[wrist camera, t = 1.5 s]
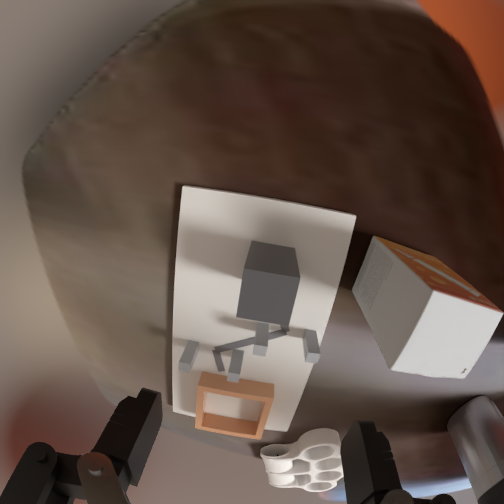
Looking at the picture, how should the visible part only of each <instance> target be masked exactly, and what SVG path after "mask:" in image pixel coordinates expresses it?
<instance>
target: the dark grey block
mask: <svg viewBox="0 0 504 504" xmlns="http://www.w3.org/2000/svg"><path fill="white" fill-rule="evenodd" d="M299 282H300V273H299V267H298V262H297V257H296V251H295V248H292V247H286V246H281V245H275V244H269V243H263V242H258V241H251V245H250V248H249V252H248V255H247V258H246V262H245V265H244V269H243V276H242V282H241V288H240V295H239V301H238V308H237V314H236V317H237V318H243V319H249V320H254V321H260V322H266V323H272V324H279V325H285V326H289V323H290V319H291V315H292V311H293V307H294V303H295V299H296V295H297V291H298V286H299Z"/></svg>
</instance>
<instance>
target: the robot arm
mask: <svg viewBox="0 0 504 504" xmlns="http://www.w3.org/2000/svg"><path fill="white" fill-rule="evenodd" d="M161 422H162V400H161V393H160V392H157V391H153V390H150V389H146V388H142V389H141V391H140V392H139V394H138V396H137V398H134V397H131V396H128V397H126V398H125V399H124V400H122V401H121V402H119V404H118V406H117V408H116V409H115V411H114V414H113V415H112V416H111V418H110V421H109V422H108V423H107V425H106V427H105V429H104V431H103V432H102V434H101V436H100V438H99V440H98V441H97V443H96V445H95V447H94V448H93V449H92V450H91V451H90V452H87V453H85V454H83V455H78V456H77V455H69V454H64V453H58V452H55V450H54V449H53V448H52V447H51V446H50V445H48V444H46V443H43V442H36V443H33V444H31V445H29V446H28V448H27V449H26V451H25V453H24V454H23V456H22V458H21V459H20V461H19V463H18V465H17V466H16V468H15V470H14V472H13V474H12V475H11V477H10V479H9V481H8V483H7V485H6V487H5V489H4V490H3V492H2V495H1V496H0V504H73V501H74V499H75V498H78V499H84V500H87V503H88V504H131V503H130V501H129V499H128V496H127V494H126V491H127V489H128V486H129V484H131V485H134V486H137V485H138V482H139V480H140V477H141V475H142V472H143V469H144V467H145V464H146V462H147V459H148V456H149V454H150V452H151V449H152V446H153V444H154V441H155V439H156V436H157V434H158V431H159V429H160V426H161ZM447 430H448V432H449V434H450V436H451V438H452V441H453V443H454V445H455V447H456V450H457V452H458V454H459V457H460V459H461V461H462V464H463V466H464V468H465V471H466V473H467V476H468V478H469V481H470V483H471V486H472V488H473V491H474V493H475V496H476V498H477V502H478V504H504V418H503V416H502V414H501V413H500V411H499V410H498V408H497V407H496V405H495V404H494V402H493V400H489V398H488V397H487V396H479V397H476V398H474V399H472V400H470V401H468V402H467V403H465V404H464V405H463V406H462V407H460V408H459V409H458V410H457V411H456V412H455V413H454V414H453V415H452V417H451V418H450V419H449V421H448V423H447ZM340 454H341V461H342V468H343V475H344V482H345V490H346V498H347V504H456V502H455V500H454V499H453V497H451V496H450V495H448V494H440V495H437V496H436V497H434V498H433V499H432V500H429V499H419V498H413V497H412V496H411V494H410V493H409V492H407V491H405V490H403V489H402V487H401V484H400V480H399V476H398V472H397V469H396V465H395V461H394V460H393V454H392V452H391V447H390V444H389V441H388V439H387V438H386V437H385V435H384V434H383V433H382V432H377V431H376V427H375V424H374V422H373V421H355V422H354V423H353V424H352V426H351V428H350V429H349V431H348V432H347V434H346V436H345V437H344V439H343V440H342V443H341V447H340Z"/></svg>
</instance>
